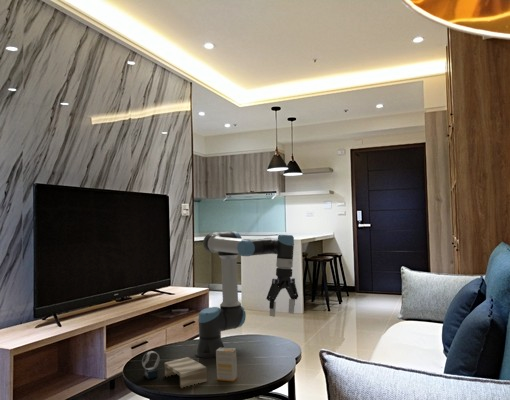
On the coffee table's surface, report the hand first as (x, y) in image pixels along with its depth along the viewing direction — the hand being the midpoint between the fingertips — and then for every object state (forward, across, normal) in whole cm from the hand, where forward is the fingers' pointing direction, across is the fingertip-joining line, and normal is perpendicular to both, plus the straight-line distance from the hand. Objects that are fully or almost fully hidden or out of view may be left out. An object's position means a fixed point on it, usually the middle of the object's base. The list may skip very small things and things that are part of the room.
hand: (281, 314), depth 183 cm
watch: (+32, -38, +44) cm, 67 cm away
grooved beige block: (+30, -30, +30) cm, 52 cm away
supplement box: (+29, -18, +14) cm, 37 cm away
